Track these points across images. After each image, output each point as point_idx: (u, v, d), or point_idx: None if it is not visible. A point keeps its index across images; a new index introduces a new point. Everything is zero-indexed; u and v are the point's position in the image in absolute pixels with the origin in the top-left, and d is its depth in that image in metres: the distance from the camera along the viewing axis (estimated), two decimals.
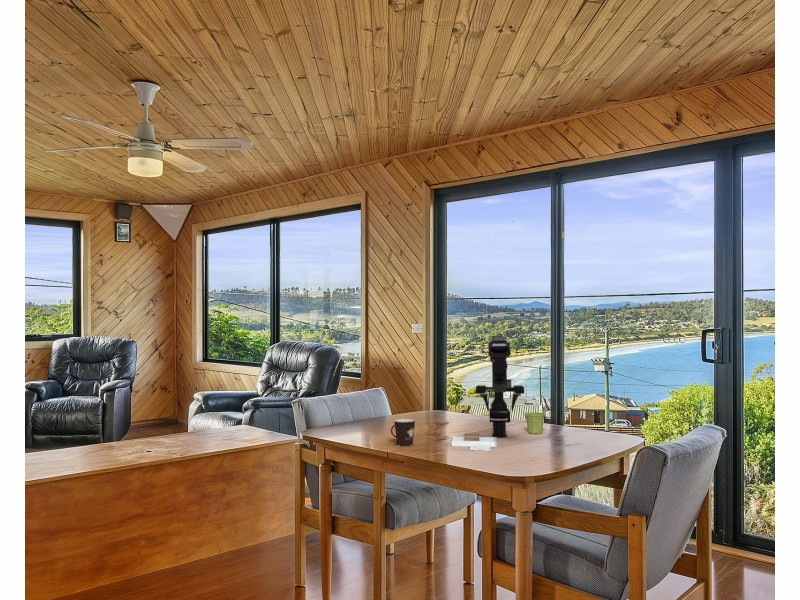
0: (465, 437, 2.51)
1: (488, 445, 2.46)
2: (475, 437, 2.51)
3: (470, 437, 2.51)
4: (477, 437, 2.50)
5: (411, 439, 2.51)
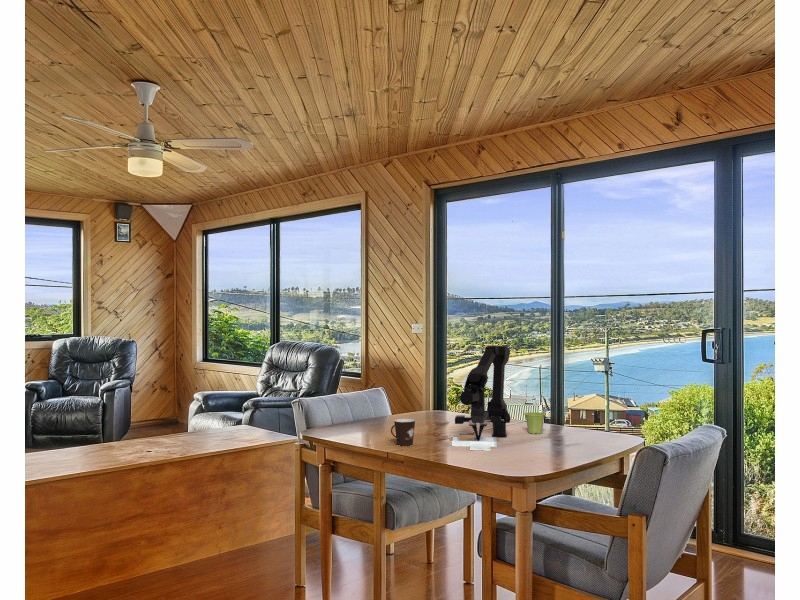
0: (460, 437, 2.51)
1: (488, 445, 2.46)
2: (470, 437, 2.51)
3: (465, 437, 2.51)
4: (472, 437, 2.51)
5: (411, 439, 2.51)
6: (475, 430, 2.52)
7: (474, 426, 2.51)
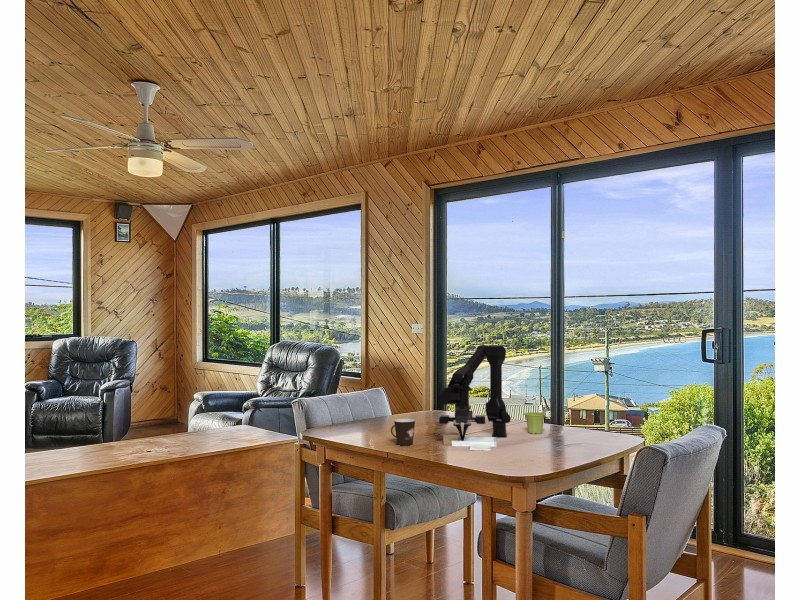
0: (444, 436, 2.52)
1: (488, 445, 2.46)
2: (454, 436, 2.52)
3: (449, 436, 2.52)
4: (456, 436, 2.51)
5: (411, 439, 2.51)
6: (459, 430, 2.53)
7: (458, 426, 2.52)
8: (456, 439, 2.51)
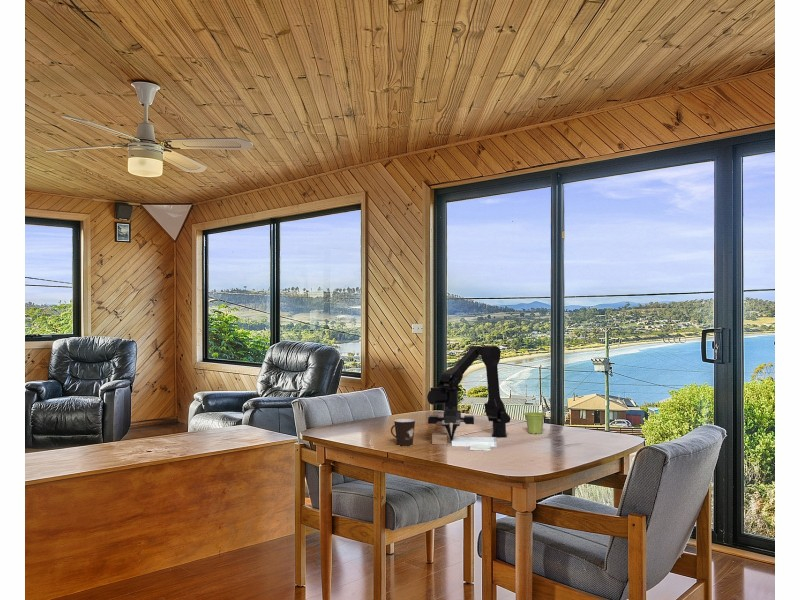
0: (433, 436, 2.53)
1: (488, 445, 2.46)
2: (443, 436, 2.52)
3: (438, 436, 2.52)
4: (445, 436, 2.52)
5: (411, 439, 2.51)
6: (448, 430, 2.53)
7: (447, 426, 2.52)
8: (445, 439, 2.52)
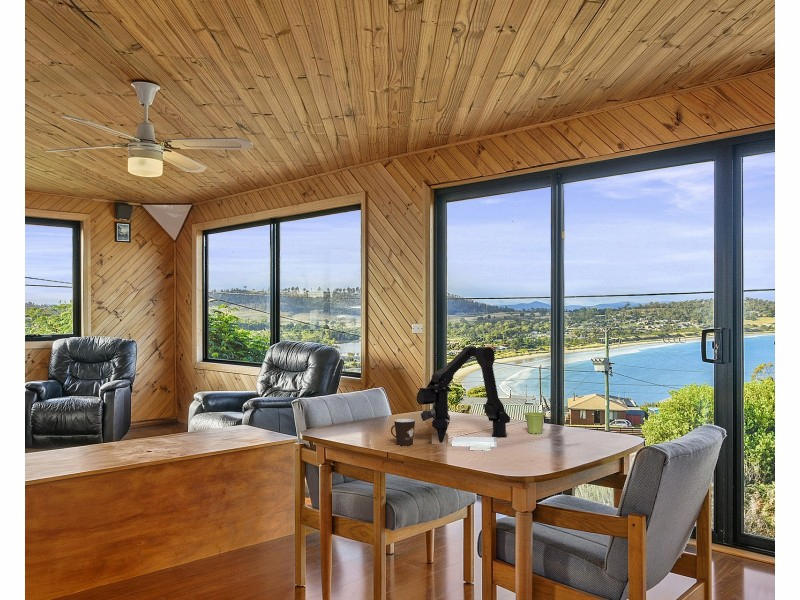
0: (432, 436, 2.53)
1: (488, 445, 2.46)
2: None
3: (437, 437, 2.53)
4: (444, 437, 2.52)
5: (411, 439, 2.51)
6: None
7: None
8: (444, 439, 2.52)
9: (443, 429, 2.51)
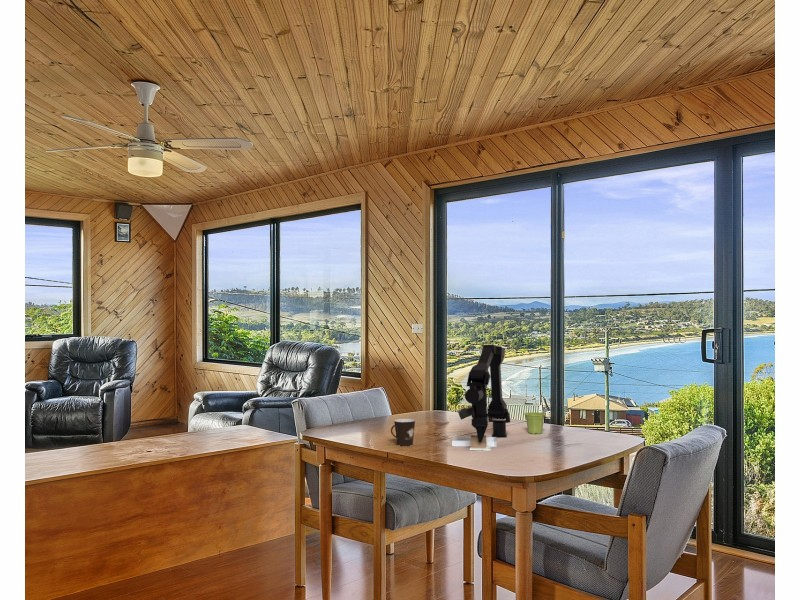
0: (471, 439, 2.42)
1: (488, 445, 2.46)
2: None
3: (476, 439, 2.41)
4: (484, 439, 2.41)
5: (411, 439, 2.51)
6: None
7: None
8: (484, 442, 2.41)
9: (483, 428, 2.38)
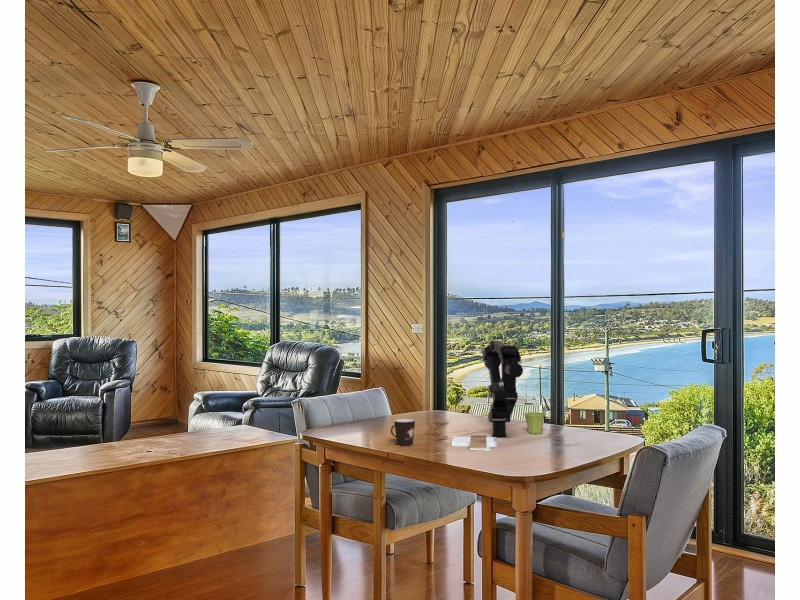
0: (471, 439, 2.42)
1: (488, 445, 2.46)
2: (482, 439, 2.41)
3: (476, 439, 2.41)
4: (484, 439, 2.41)
5: (411, 439, 2.51)
6: None
7: None
8: (484, 442, 2.41)
9: (512, 401, 2.49)
